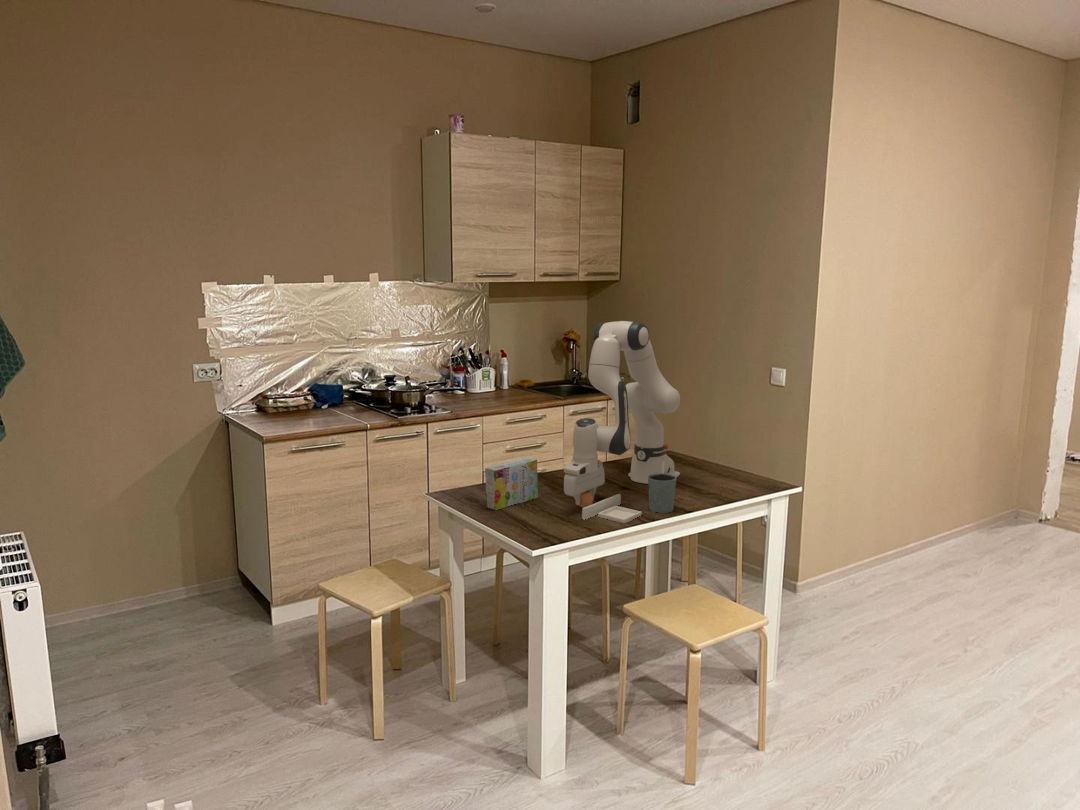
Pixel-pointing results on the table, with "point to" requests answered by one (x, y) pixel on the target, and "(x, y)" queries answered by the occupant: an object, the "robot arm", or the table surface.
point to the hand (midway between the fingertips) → (584, 502)
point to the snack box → (511, 483)
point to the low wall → (601, 506)
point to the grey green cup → (661, 492)
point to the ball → (586, 499)
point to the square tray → (619, 514)
